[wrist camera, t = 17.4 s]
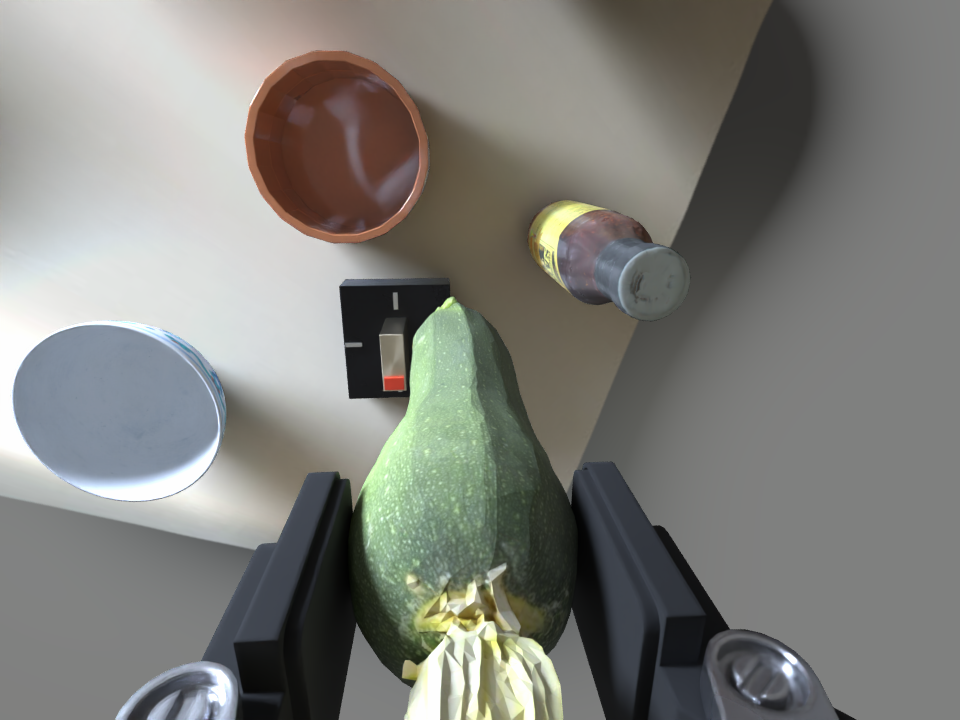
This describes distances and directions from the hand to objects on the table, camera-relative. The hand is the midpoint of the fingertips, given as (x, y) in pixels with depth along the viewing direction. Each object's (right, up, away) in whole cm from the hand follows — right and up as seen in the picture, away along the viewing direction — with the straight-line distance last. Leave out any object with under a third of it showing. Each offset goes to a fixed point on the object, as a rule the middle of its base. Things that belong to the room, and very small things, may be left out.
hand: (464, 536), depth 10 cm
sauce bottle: (+7, +14, +36) cm, 39 cm away
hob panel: (-7, +6, +37) cm, 38 cm away
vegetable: (-1, +4, +13) cm, 14 cm away
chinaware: (-28, +2, +37) cm, 47 cm away
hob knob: (-7, +5, +34) cm, 35 cm away
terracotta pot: (-10, +20, +32) cm, 39 cm away
